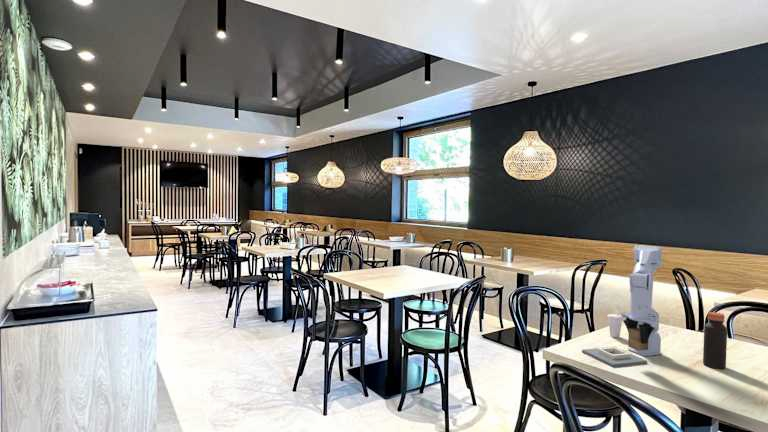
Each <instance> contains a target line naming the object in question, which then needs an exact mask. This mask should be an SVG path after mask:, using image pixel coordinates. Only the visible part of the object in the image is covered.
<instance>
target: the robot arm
mask: <svg viewBox="0 0 768 432" xmlns="http://www.w3.org/2000/svg"><path fill="white" fill-rule="evenodd" d="M633 258H634V259H633V260H634V264H635V265H634V266H633V267H634V268H633V272H632V273H630V275H629V292H630V308H629V309H630V312H628V311H627V312H626V311H621V313H620V315H621V317H623V318H624V319H622V323H623V324H624V326H625V327H626V330H627V332H628V333H627V334H629V328H640V332H641V343H642V344H646V343H647V342H648V350H641V351H638V350H635V349H633V348H630V347H629V348H628V350H629V351H631V352H633V353H635V354H638V355H640V356H643V357H647V356H648V357H650V356H659V355H663V352H662V351H661V348H662V347H661V346H662V339H661V338H662V337H661V335H660V332H659V329H660V315H659V312H658V311H656V310H655V309H654V308H653V307H652V306H653V305H652V304H653V291H654V289H653V288H654V287H653V286H654V276H655V275H654V274H655V272H656V270H657V269H660V268H661V265H662V263H663V262H662V260H663V247H661V246H653V245H652V246H651V245H650V246H649V245H639V244H638V245H637V244H636V245H635V246H633Z"/></svg>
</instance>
